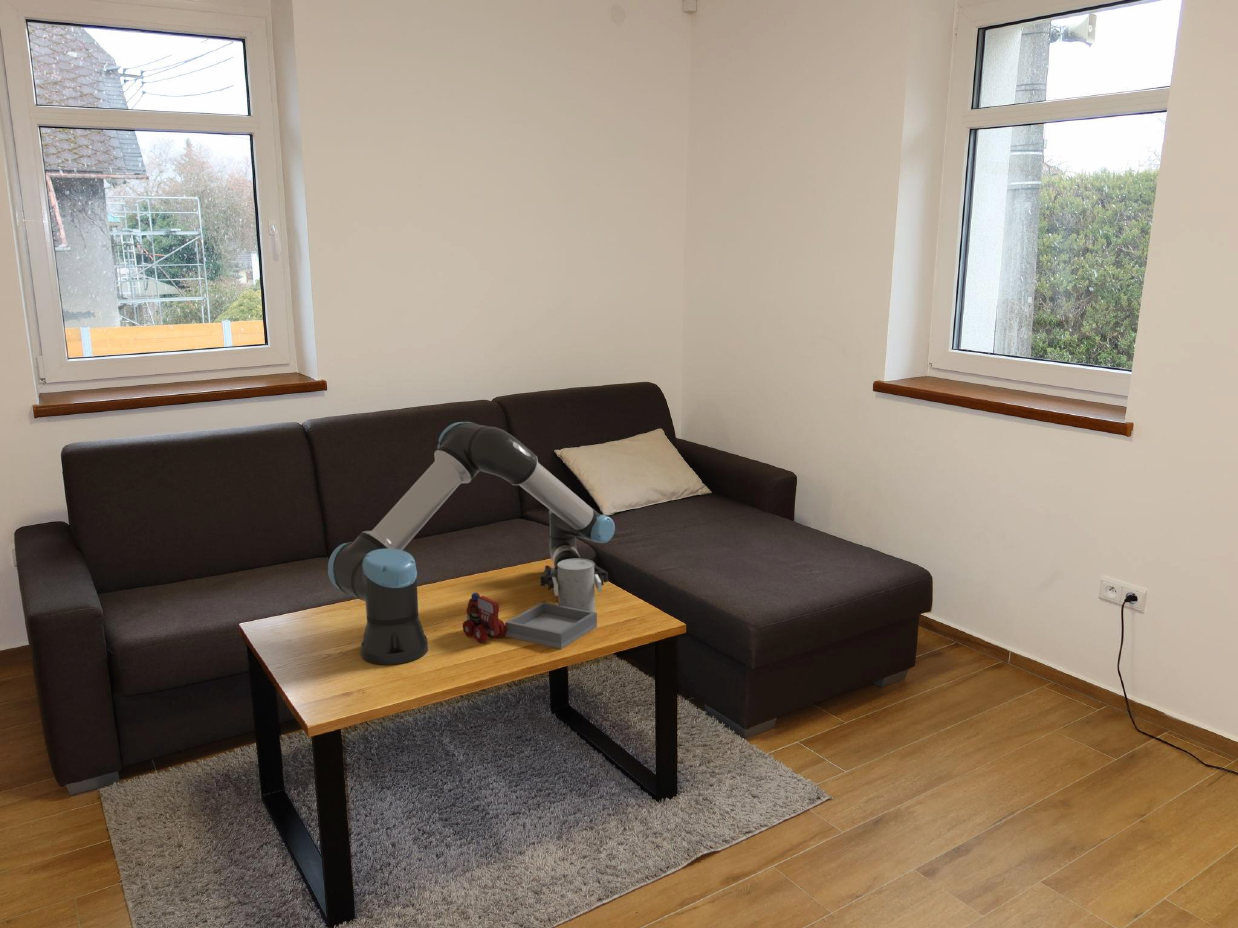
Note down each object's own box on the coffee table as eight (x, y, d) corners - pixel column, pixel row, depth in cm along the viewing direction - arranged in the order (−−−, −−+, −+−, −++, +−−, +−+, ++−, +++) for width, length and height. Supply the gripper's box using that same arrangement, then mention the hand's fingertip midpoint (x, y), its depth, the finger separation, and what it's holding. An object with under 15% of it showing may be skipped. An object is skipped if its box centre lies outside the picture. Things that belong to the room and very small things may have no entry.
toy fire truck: (482, 625, 241) (480, 585, 239) (510, 639, 232) (509, 598, 230) (458, 632, 237) (456, 591, 235) (485, 647, 228) (484, 605, 226)
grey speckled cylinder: (594, 615, 247) (593, 569, 244) (556, 615, 247) (555, 569, 244) (596, 602, 256) (595, 558, 254) (559, 602, 256) (558, 558, 254)
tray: (505, 636, 234) (505, 621, 233) (543, 615, 247) (542, 601, 247) (561, 649, 226) (561, 634, 225) (597, 626, 239) (596, 612, 239)
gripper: (608, 572, 270) (623, 599, 249) (526, 578, 266) (533, 605, 245) (608, 547, 269) (622, 571, 247) (525, 552, 265) (532, 577, 243)
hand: (578, 588), depth 246 cm, fingers open, 10 cm apart
